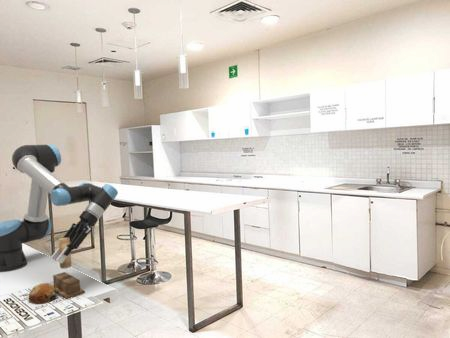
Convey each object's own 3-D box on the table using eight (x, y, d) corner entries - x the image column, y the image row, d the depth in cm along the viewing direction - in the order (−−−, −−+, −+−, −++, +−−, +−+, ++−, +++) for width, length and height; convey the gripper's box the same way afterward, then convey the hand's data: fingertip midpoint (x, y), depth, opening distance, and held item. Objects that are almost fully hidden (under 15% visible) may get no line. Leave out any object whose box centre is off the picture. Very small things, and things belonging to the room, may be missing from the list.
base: (49, 289, 150) (48, 275, 150) (67, 283, 156) (67, 270, 156) (65, 299, 140) (65, 285, 139) (85, 293, 146) (84, 279, 145)
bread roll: (52, 300, 147) (48, 282, 149) (62, 296, 141) (57, 277, 143) (28, 309, 140) (23, 290, 141) (37, 305, 134) (32, 285, 135)
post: (58, 267, 147) (56, 239, 146) (68, 264, 150) (66, 237, 149) (62, 269, 144) (61, 241, 143) (73, 266, 147) (71, 238, 146)
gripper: (107, 222, 152) (72, 269, 140) (88, 217, 163) (54, 260, 152) (95, 212, 147) (58, 260, 136) (76, 207, 159) (40, 252, 148)
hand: (56, 260), depth 144 cm, fingers closed on post, 4 cm apart
